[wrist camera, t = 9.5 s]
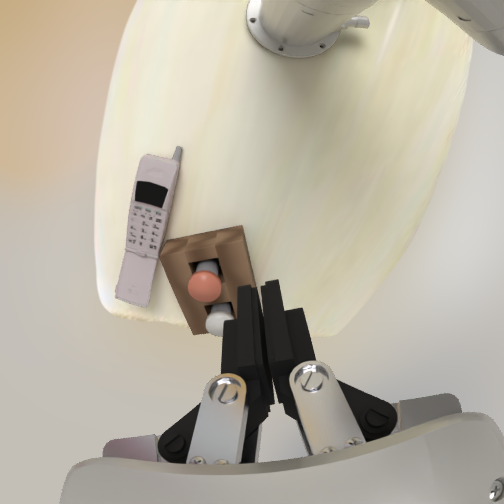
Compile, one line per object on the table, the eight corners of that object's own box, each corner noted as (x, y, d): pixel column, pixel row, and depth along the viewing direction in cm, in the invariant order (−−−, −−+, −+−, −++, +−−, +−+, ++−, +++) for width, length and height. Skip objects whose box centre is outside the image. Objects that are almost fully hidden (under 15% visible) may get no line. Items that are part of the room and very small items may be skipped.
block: (242, 225, 41) (242, 240, 37) (260, 305, 49) (262, 325, 45) (167, 240, 42) (159, 256, 37) (196, 315, 50) (193, 334, 45)
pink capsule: (219, 245, 41) (216, 273, 34) (226, 269, 43) (224, 299, 37) (191, 250, 41) (183, 278, 35) (199, 274, 43) (193, 304, 37)
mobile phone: (113, 299, 40) (133, 144, 29) (124, 278, 45) (148, 137, 34) (147, 310, 42) (179, 155, 30) (155, 287, 47) (188, 148, 35)
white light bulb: (231, 284, 45) (230, 314, 39) (237, 304, 48) (237, 334, 41) (206, 289, 46) (201, 318, 39) (213, 308, 48) (210, 338, 42)
